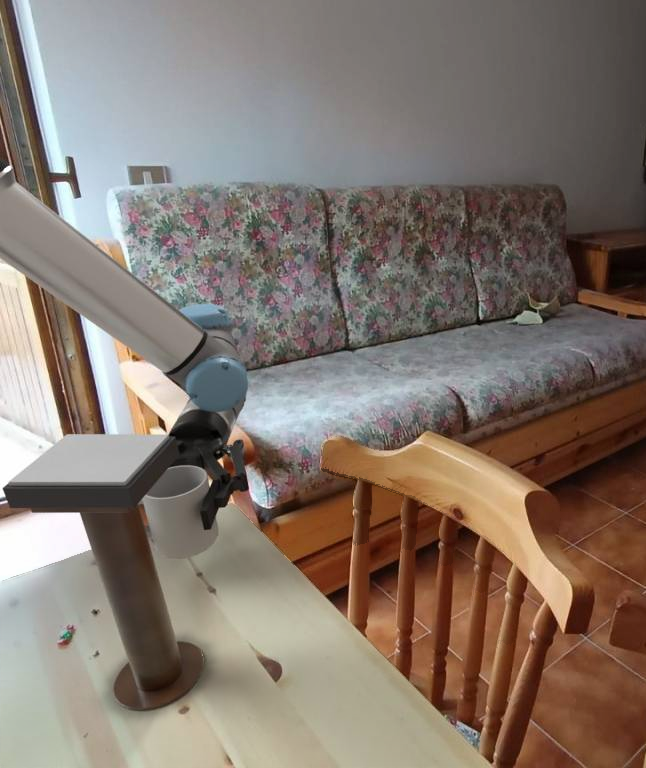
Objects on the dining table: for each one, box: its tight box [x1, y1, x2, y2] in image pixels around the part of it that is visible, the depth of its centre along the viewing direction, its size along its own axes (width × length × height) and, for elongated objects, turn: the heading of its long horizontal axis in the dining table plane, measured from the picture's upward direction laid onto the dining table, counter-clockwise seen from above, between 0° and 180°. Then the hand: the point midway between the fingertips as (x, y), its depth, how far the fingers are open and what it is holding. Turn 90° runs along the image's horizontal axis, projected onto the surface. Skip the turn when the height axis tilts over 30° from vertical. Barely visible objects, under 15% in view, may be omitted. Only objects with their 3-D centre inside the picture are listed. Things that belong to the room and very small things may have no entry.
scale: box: [2, 433, 180, 509], centre depth 55 cm, size 10×8×2 cm
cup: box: [138, 465, 219, 560], centre depth 76 cm, size 7×10×9 cm
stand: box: [30, 504, 205, 712], centre depth 61 cm, size 8×8×25 cm
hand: (155, 525), depth 72 cm, fingers closed on cup, 10 cm apart
